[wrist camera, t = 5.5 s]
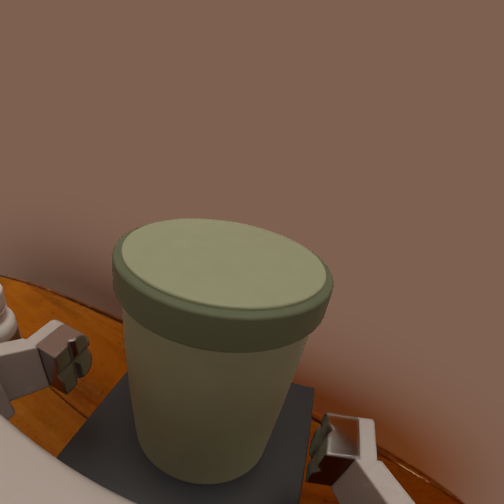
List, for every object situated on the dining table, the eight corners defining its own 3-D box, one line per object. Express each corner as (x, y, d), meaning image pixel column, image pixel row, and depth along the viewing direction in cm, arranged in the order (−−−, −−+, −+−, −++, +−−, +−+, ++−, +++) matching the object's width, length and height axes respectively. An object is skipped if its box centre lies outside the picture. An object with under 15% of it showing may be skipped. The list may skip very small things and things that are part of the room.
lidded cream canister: (298, 440, 12) (371, 274, 9) (188, 515, 8) (199, 354, 5) (212, 366, 16) (235, 211, 13) (108, 408, 12) (85, 226, 9)
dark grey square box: (288, 441, 18) (314, 387, 16) (258, 567, 9) (289, 550, 7) (155, 400, 20) (153, 339, 18) (87, 503, 11) (54, 458, 8)
